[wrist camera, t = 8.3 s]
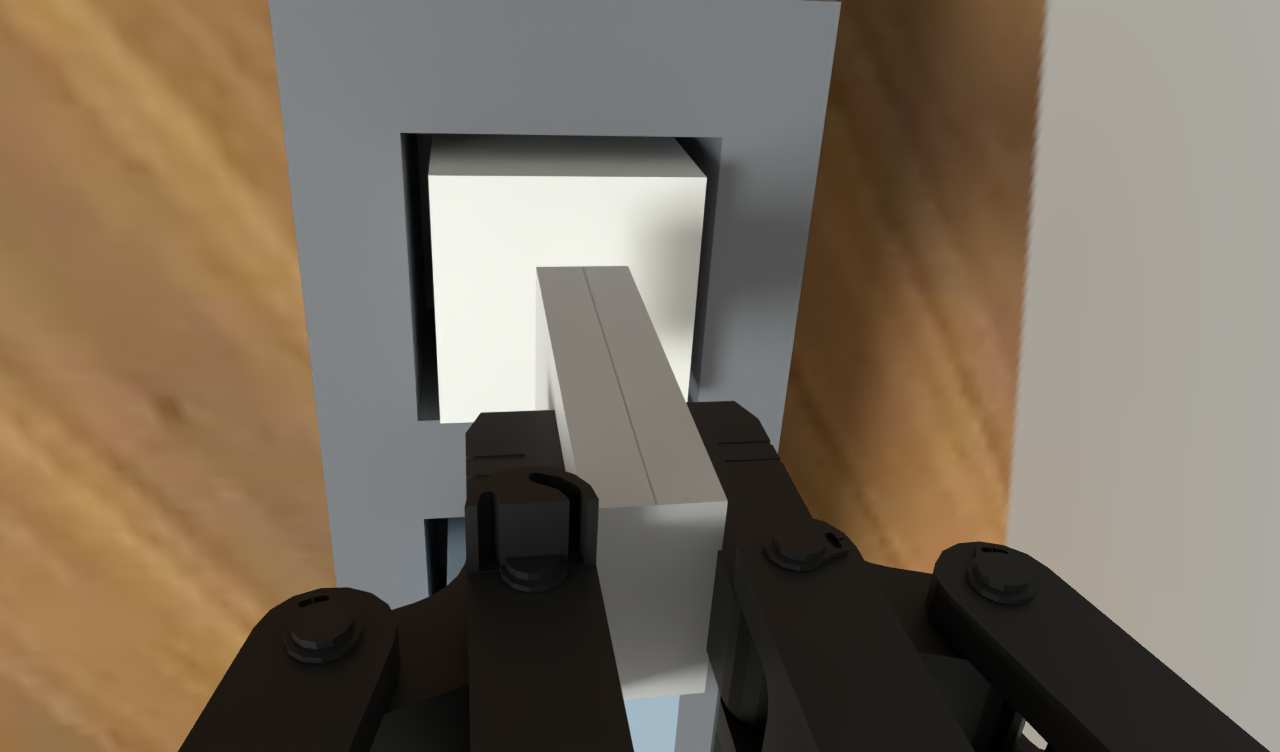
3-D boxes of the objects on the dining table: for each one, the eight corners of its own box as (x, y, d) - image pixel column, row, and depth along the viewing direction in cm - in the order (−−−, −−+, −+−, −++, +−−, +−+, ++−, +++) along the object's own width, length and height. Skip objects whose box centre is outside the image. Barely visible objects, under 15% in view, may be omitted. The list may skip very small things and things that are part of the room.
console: (317, -49, 21) (265, -21, 16) (747, -29, 23) (841, 1, 17) (396, 803, 34) (384, 988, 28) (669, 775, 36) (709, 944, 30)
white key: (434, 113, 21) (428, 175, 17) (657, 117, 22) (706, 177, 17) (444, 320, 23) (440, 423, 19) (645, 317, 24) (686, 414, 20)
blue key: (448, 477, 23) (446, 614, 19) (647, 467, 24) (689, 597, 20) (455, 632, 26) (454, 786, 21) (637, 618, 27) (672, 764, 22)
